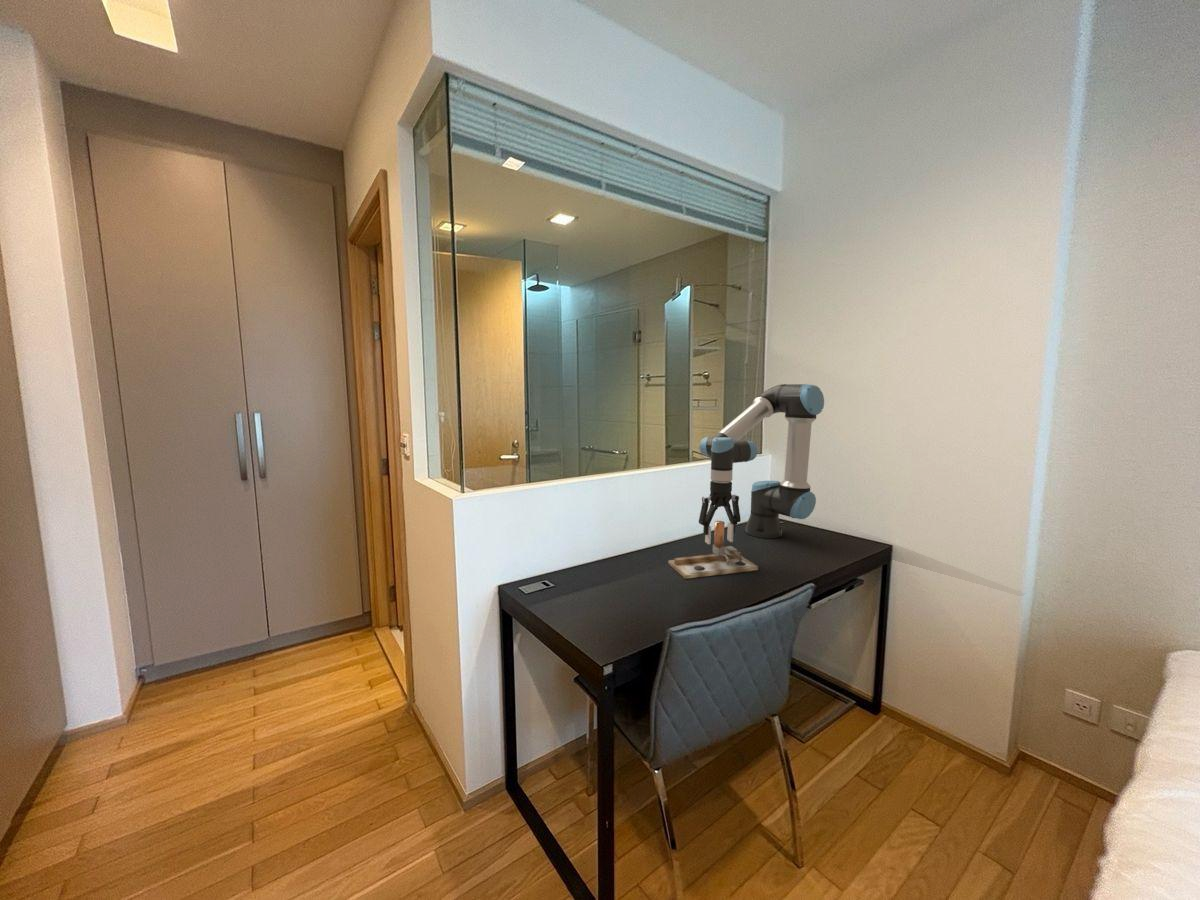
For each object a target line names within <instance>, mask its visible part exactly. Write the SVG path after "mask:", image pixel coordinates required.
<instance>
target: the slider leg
mask: <svg viewBox="0 0 1200 900" xmlns="http://www.w3.org/2000/svg"><path fill="white" fill-rule="evenodd" d="M713 535H714V536H713V538H714V539H713V544H712V554H716V555H717V556H723V557H724V558H726V559H727V562H726V564H729V560H730V558H729V557H728V556H726V555H725V553H726V552H725V547H726V546H724V545H725V521H722V520H714V534H713Z"/></svg>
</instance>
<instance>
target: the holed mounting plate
mask: <svg viewBox="0 0 1200 900" xmlns="http://www.w3.org/2000/svg"><path fill="white" fill-rule="evenodd" d="M724 547H725V555H726V556H728V557H729V558H730V560H729V564H726V562H727V559H726V558H724V557H723V556H717V555H716V554H714V553H712V554H701V555H694V556H684V557H675V558H674V559H669V560H667V562H668V565H669V566H671V567H672V568H673V569H674V570H675V571H676V572H677V573H678V574H679V575H680V576H681V577H683V579H685V580H687V579H695V578H696V579H697V578H702V577H710V576H711V577H712V576H720V575H728V574H738V573H745V572H752V571H759V566H758V565H756V564H755V563H753V562H752V561H750V560H748V559H746V557H744V556H742V552H741V551H738V549H737V548H736V547H734V546H732V545H728V546H724Z"/></svg>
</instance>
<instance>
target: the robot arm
mask: <svg viewBox="0 0 1200 900" xmlns="http://www.w3.org/2000/svg"><path fill="white" fill-rule="evenodd" d="M824 406H825V397H824V393H823V391H822V390H821V388H820V387H819V386H818V385H815V384H808V383H804V384H803V383H802V384H796V383H795V384H792V383H791V384H790V383H789V384H787V383H786V384H785V383H784V384H783V383H781V384H778V385H775V386H773V387H770V388H768V389H766V390H764V391H763V392H761V394H759V395H758V396H757V397H755V398H754V399H753V401H752V404H751V405H749V406H748V407H747V408H746V409H744V411H742V412H741V413H740V414H738V416H736V417H735V418H734V419H732V420H731V421H730V422H729V423H728V424H727V425H726V426H724V427H723V428H722V429H720V431H718V432H717V433H715V434H714V435H713V436H712V437H711V436H705V437H703V438H702V439H701V440H700V442H699V445H698V447H699V448H698V449H699V452H700V453H701V455H703V456H705V457H708V458H711V459H710V480H711V481H710V484H709V489H710V490H709V492H710V494H709V495H708V496H706V497H705V496H702V497H701V508H700V513H699V517H698V518H699V519H698V524H699V525H701V526H703V535H704V542H705V543H706V544H707V545H711V542H712V526H711V525H710V524H711V522H712V520H713V517H714V515H715V513H716V511H717V510H718V509H719V508H721V507H723V508H724V510H725V513H726V515H727V517H728V520H729V522H727V531H726V532H727V533H726V540H727V541H728V542H730V543H733V542H734V533H735V532H736V526H737V525H738V523H741V512H740V506H739V500H740V496H739V495H737V494H732V491H733V489H732V488H733V482H732V481H733V469H734V468H733V467H734V464H737V463H738V464H739V463H747V462H751V461H753V460H755V459H756V458H757V455H758V447H757V444H755V442H754V441H751V440H741V439H742V438H744V436H746V435H747V434H748V433H749V432H750V431H751V430H752V429H754V428H755V427H756V426H757V425H759V423H761V422H762V421H763V420H764V419H765V418H770V417H771V416H773V415H774V414H777V413H778V414H779V413H784V418H785V420H786V421H787V422H788V424H787V425H788V426H787V427H788V428H787V439H786V440H787V441H786V453H785V465H784V466H785V467H784V477H783V478H784V479H783V480H782V481H781V482H780V481H778V480H760V481H759V480H758V481H755V482H753V483H752V485H751V491H750V492H751V495H750V515H749V516H748V517H749V518H748V521H747V523H746V526H745V533H747V534H748V535H749V536H752V537H756V538H762V539H777V538H780V537H782V536H783V528H782V523H781V521H780V515H781V516H785V517H790V518H792V519H797V520H805V519H807V518H808V517H809V516H811V514H812V513H813V511H814V510H815V506H816V503H817V497H816V495H815V494H814V493H813V491H811V485H810V484H809V483H808V474H809V473H808V470H809V460H810V459H809V458H810V447H811V437H812V436H811V435H812V424H813V422H815V421H816V419H817V415H819V414H821V413H822V411H823V409H824ZM710 501H711V502H710ZM730 501H731V504H732V505H731V504H730ZM709 503H710V505H709Z"/></svg>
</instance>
